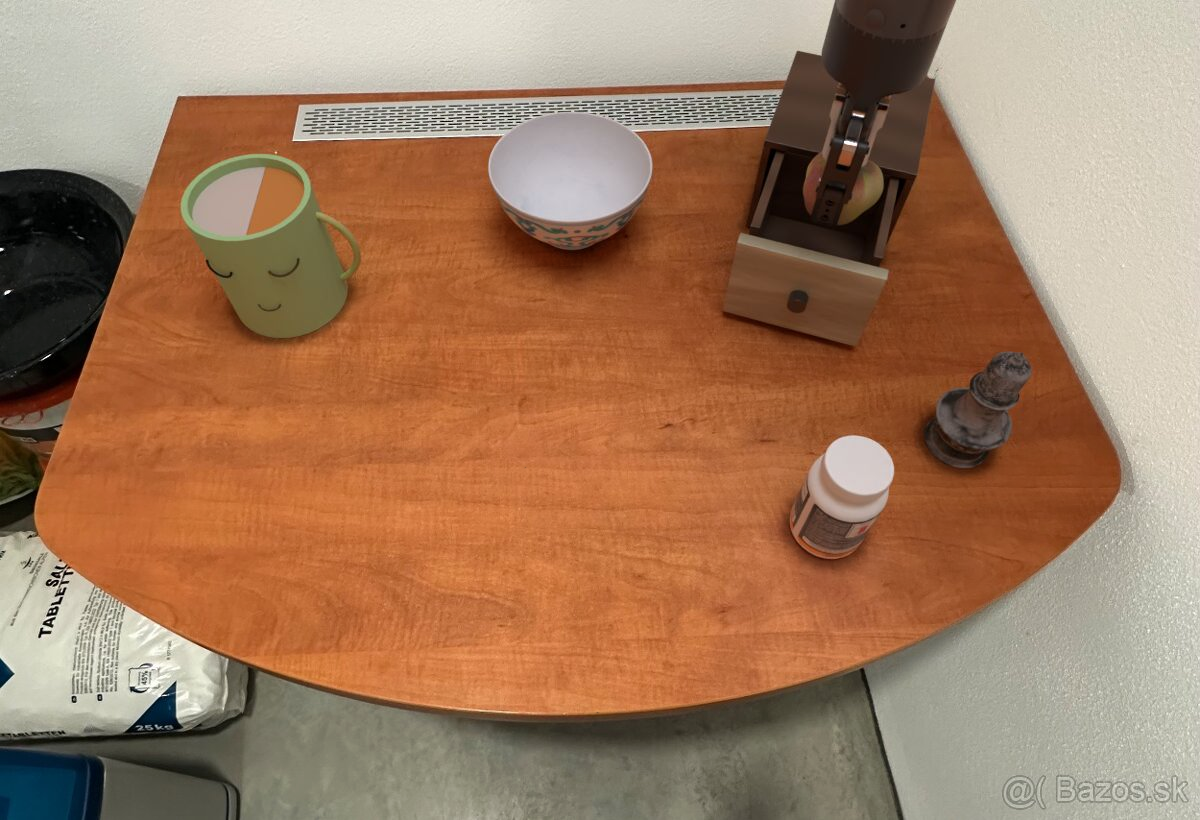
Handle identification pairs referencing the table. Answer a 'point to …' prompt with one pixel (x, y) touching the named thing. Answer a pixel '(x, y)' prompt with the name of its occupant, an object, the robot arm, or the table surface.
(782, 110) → the cabinet
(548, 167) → the chinaware
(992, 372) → the chess piece
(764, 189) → the drawer
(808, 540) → the pill bottle
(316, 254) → the mug
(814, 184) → the apple
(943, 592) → the table surface
